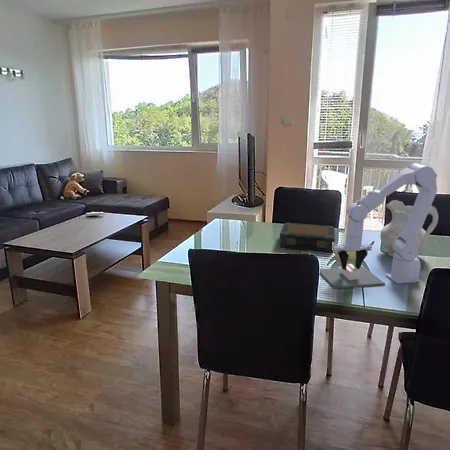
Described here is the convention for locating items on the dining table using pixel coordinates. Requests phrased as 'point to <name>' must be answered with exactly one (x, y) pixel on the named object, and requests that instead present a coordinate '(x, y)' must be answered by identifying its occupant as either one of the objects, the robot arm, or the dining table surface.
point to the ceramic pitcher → (399, 222)
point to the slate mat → (341, 281)
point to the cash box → (307, 237)
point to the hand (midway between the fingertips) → (350, 268)
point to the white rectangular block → (350, 272)
